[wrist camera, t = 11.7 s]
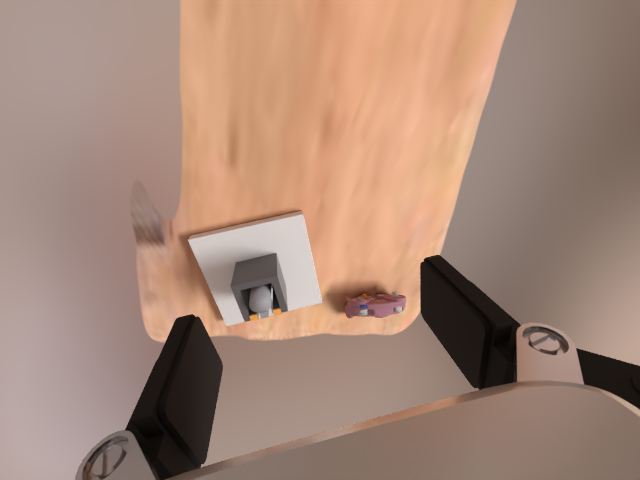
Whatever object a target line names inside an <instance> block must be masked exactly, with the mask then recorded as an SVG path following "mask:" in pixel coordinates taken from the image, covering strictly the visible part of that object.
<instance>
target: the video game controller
mask: <svg viewBox="0 0 640 480" xmlns="http://www.w3.org/2000/svg"><path fill="white" fill-rule="evenodd" d="M391 294H392V295H390V294H376V300H371V296H370V295H367V294H362V295H360V296H358V297H356V298H352V299H350V301H349V302H348V303H347V304H346V307H345V313H346V316H347V317H348V318H352V317H354V316H364V317H365V316H373V317H377V318H383V317H386V316H388V315H391V314H397V313H400V312H402V311H403V310H404V308H405V303H406V297H405V296H403V295H398V292H392V293H391Z"/></svg>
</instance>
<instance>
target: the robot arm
mask: <svg viewBox="0 0 640 480" xmlns="http://www.w3.org/2000/svg"><path fill="white" fill-rule="evenodd" d="M420 268H421V314H422V317H423V319H424V320H425V321H426V323H427V324H428V326H429V327H430V328H431V330H432V331H433V333H434V334H435V335H436V337H437V338H438V340H439V341H440V342H441V344H442V345H443V346H444V348H445V349H446V351H447V352H448V353H449V355H450V356H451V358H452V359H453V360H454V362H455V363H456V364H457V366H458V367H459V369H460V370H461V372H462V373H463V374H464V376H465V377H466V378H467V380H468V381H469V382H470V384H471V385H472V386H473V387H474V388H478V389H479V390H478V391H475V392H470V393H466V394H462V395H459V396H454V397H451V398H447V399H443V400H440V401H436V402H432V403H428V404H425V405H421V406H418V407H414V408H410V409H406V410H403V411H399V412H396V413H392V414H388V415H384V416H381V417H377V418H374V419H370V420H366V421H363V422H359V423H355V424H352V425H348V426H345V427H341V428H337V429H334V430H330V431H327V432H323V433H320V434H316V435H312V436H309V437H305V438H302V439H298V440H295V441H291V442H287V443H284V444H281V445H277V446H273V447H270V448H266V449H263V450H259V451H256V452H253V453H249V454H245V455H242V456H238V457H235V458H231V459H228V460H225V461H221V462H218V463H215V464H212V465H208V466H205V467H202V468H200V467H201V464H204V462H205V461H206V458H207V452H208V447H209V441H210V436H211V431H212V424H213V420H214V414H215V409H216V402H217V398H218V392H219V386H220V382H221V376H222V370H223V365H222V361H221V359H220V357H219V355H218V353H217V351H216V349H215V347H214V345H213V343H212V341H211V339H210V337H209V335H208V333H207V331H206V329H205V327H204V325H203V323H202V321H201V319H200V318H199V317H195V316H194V315H193V314H191V315H187V316H183V317H179V318H177V319H176V320H175V322H174V325H173V327H172V329H171V331H170V334H169V336H168V338H167V340H166V343H165V345H164V347H163V349H162V352H161V354H160V356H159V358H158V360H157V361H156V363H155V365H154V367H153V369H152V372H151V374H150V376H149V378H148V380H147V383H146V385H145V387H144V390H143V392H142V394H141V396H140V398H139V400H138V403H137V405H136V407H135V409H134V412H133V414H132V416H131V418H130V420H129V423H128V425H127V427H126V429H125V430H123V431H118V432H115V433H113V434H111V435H109V436H107V437H106V438H104V439H103V440H102V441H100V442H99V443H98V444H97V445H96V446H95V447H93V448H92V449H91V451H90V452H89V453H88V454H87V456H86V457H85V458H84V459H83V461H82V463H81V465H80V466H79V468H78V471H77V474H76V477H75V480H640V366H638V365H634V364H630V363H626V362H623V361H620V360H616V359H613V358H609V357H605V356H602V355H598V354H595V353H591V352H588V351H584V350H580V349H577V348H576V346H575V344H574V342H573V341H572V340H571V339H570V337H569V336H568V335H566V334H565V333H563V332H562V331H560V330H559V329H557V328H554V327H552V326H549V325H546V324H541V323H526V324H523V325H520V324H519V323H518V322H517V321H515V320H514V319H513V318H512V317H511V316H509V314H507V313H506V312H505V311H504V310H503V309H502V308H500V307H499V306H498V305H497V304H496V303H495V302H494V301H492V300H491V299H490V298H489V297H488V296H487V295H486V294H485V293H483V292H482V291H481V290H480V289H479V288H478V287H477V286H475V285H474V284H473V283H472V282H470V281H468V280H467V279H466V278H465V277H464V276H463V275H462V274H460V273H459V272H458V271H457V270H456V269H455V268H454V267H452V266H451V265H450V264H449V263H448V262H447V261H446V260H445V259H443V258H442V257H441V256H440V255H435V256H431V257H427V258H425V259H424V262H422V263H421V266H420Z"/></svg>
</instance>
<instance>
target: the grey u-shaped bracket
mask: <svg viewBox="0 0 640 480" xmlns="http://www.w3.org/2000/svg"><path fill="white" fill-rule="evenodd" d="M269 283H272V284H273V313H274V315H278V314H282V312H286V311H288V305H287V293H286V284H285V281H284V277H283V274H282V270H281V267H280V263H279V260H278V256H277V253H274V254H270V255H265V256H261V257H257V258H252V259H248V260H244V261H240V262H236V264H235V268H234V273H233V277H232V282H231V286H230V287H231V289H232V292H233V294H234V297H235V299H236V302H237V304H238V307H239V309H240V312H241V314H242V317H243V319H244V321H245V322H246V321H250V320H251V321H254V320H258V318H259V313H257V312H254V311H252V310H251V309H250V307H249V300H250V291H251V288H252V287H257V286H261V285H265V284H269Z"/></svg>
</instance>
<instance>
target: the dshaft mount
mask: <svg viewBox="0 0 640 480" xmlns="http://www.w3.org/2000/svg"><path fill="white" fill-rule="evenodd" d="M188 242H189V244H190V246H191V248H192V251H193V253H194V255H195V257H196V259H197V262H198V264H199V266H200V268H201V271H202V273H203V275H204V277H205V279H206V282H207V284H208V286H209V288H210V291H211V293H212V295H213V297H214V299H215V302H216V304H217V306H218V308H219V311H220V313H221V315H222V317H223V319H224V322H225V324H226V326H229V325H233V324H237V323H241V322H245V321H244V319H243V317H242V314H241V312H240V309H239V307H238V304H237V302H236V299H235V297H234V294H233V292H232V289H231V287H230V286H231V282H232V277H233V273H234V268H235V264H236V262H240V261H244V260H248V259H252V258H257V257H261V256H265V255H270V254H274V253H277V256H278V260H279V263H280V267H281V270H282V274H283V277H284V281H285V284H286V293H287V305H288V311H290V310H294V309H298V308H302V307H306V306H310V305H314V304H318V303H322V298H321V294H320V289H319V285H318V280H317V275H316V271H315V266H314V262H313V257H312V252H311V248H310V243H309V239H308V234H307V229H306V225H305V220H304V216H303V212H302V211H298V212H293V213H289V214H284V215H280V216H275V217H271V218H266V219H262V220H257V221H253V222H248V223H244V224H239V225H235V226H230V227H226V228H221V229H217V230H212V231H208V232H203V233H199V234H194V235H191V236H190V237H189V239H188ZM249 307H250V309H251V310H252V311H254V312H257V313H259V318H266V317H269V316H270V315H274V313H273V284H272V283H269V284H265V285H261V286H257V287H252V288H251V291H250V300H249Z"/></svg>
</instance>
